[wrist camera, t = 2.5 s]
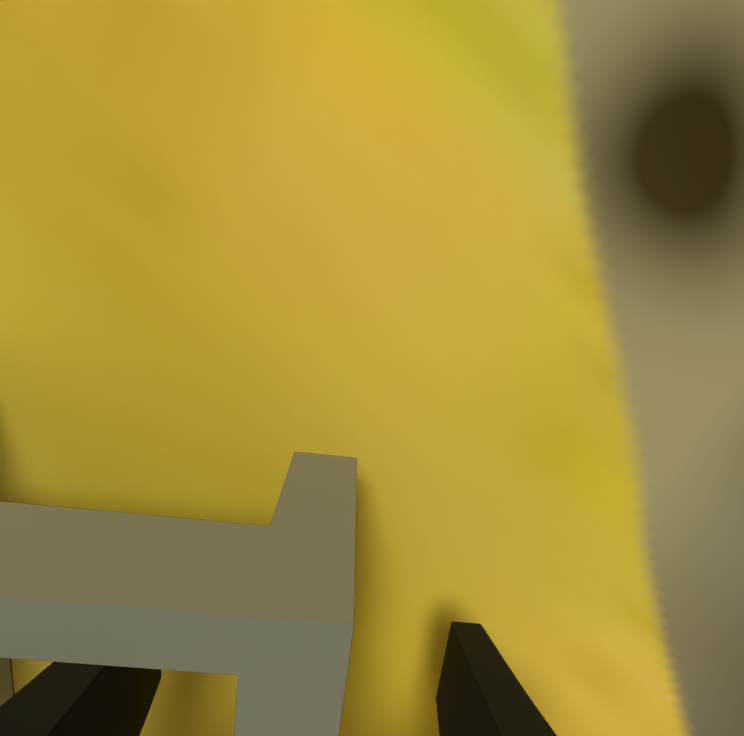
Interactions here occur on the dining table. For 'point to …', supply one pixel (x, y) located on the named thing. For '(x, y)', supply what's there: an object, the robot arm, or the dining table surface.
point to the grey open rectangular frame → (196, 596)
